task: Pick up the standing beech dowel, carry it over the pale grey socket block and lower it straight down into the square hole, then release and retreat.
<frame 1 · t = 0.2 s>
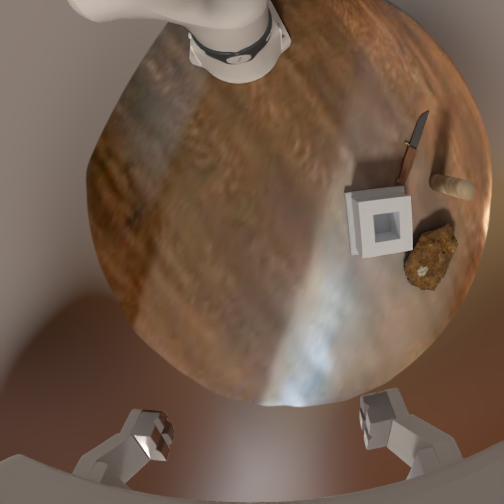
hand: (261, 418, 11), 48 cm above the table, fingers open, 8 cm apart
socket: (376, 219, 55), on the table
knife: (410, 144, 51), on the table
peg: (435, 182, 52), on the table
decorative rock: (428, 252, 57), on the table
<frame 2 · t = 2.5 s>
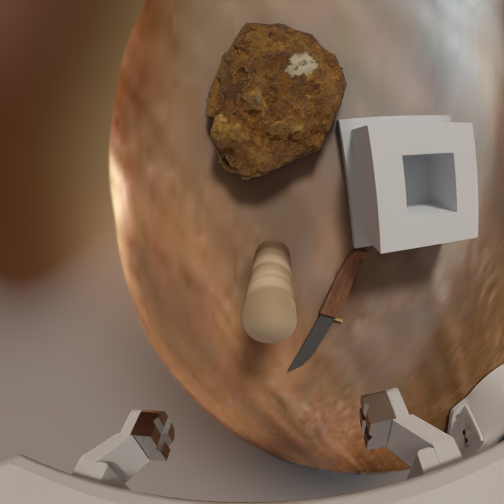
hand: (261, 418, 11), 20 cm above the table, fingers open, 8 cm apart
socket: (403, 177, 26), on the table
knife: (328, 316, 32), on the table
peg: (272, 257, 30), on the table
decorative rock: (272, 104, 26), on the table
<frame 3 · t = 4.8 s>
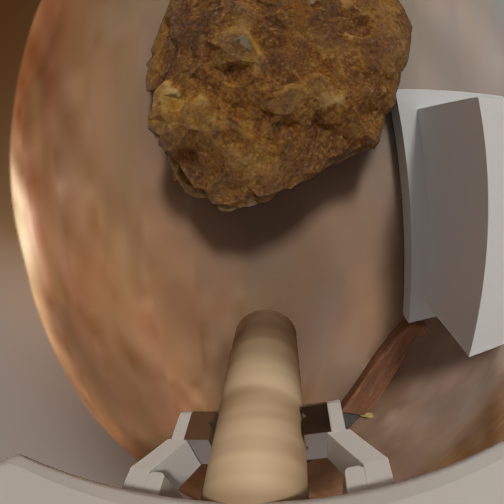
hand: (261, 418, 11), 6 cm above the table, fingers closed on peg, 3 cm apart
socket: (488, 200, 13), on the table
knife: (351, 408, 19), on the table
peg: (265, 336, 17), on the table, touching gripper
decorative rock: (273, 62, 13), on the table
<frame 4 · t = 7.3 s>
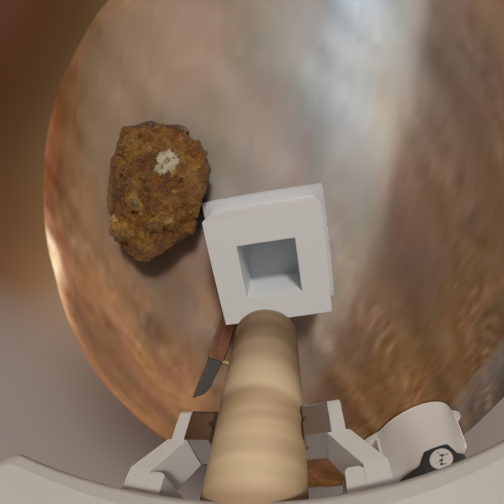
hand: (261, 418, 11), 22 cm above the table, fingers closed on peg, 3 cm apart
socket: (271, 248, 32), on the table
knife: (218, 358, 38), on the table
peg: (266, 335, 17), point 16 cm above the table, touching gripper
decorative rock: (159, 192, 32), on the table
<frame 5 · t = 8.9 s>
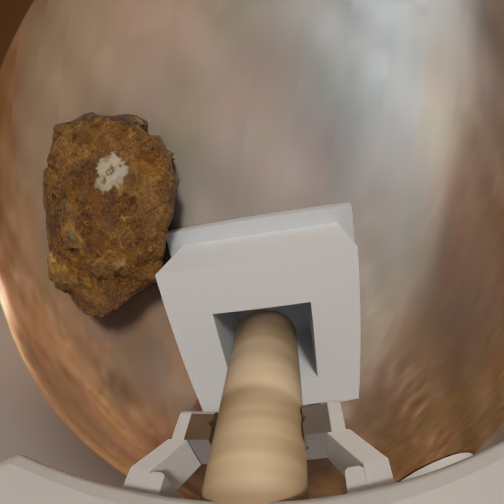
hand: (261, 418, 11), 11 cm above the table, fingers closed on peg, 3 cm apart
socket: (270, 298, 22), on the table
peg: (265, 335, 17), point 5 cm above the table, touching gripper
decorative rock: (112, 216, 21), on the table
when the fingers open (9 cm above the table, at t = 10.0 s): peg drops 1 cm, resting on socket.
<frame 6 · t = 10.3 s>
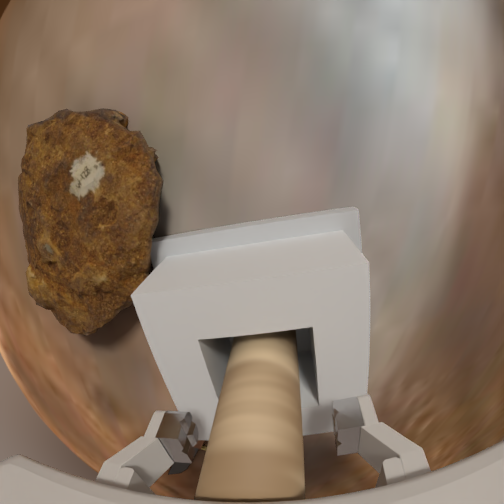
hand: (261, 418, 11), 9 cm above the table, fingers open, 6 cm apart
socket: (266, 314, 19), on the table
knife: (195, 441, 25), on the table
peg: (266, 322, 18), point 1 cm above the table, touching socket
decorative rock: (93, 223, 19), on the table
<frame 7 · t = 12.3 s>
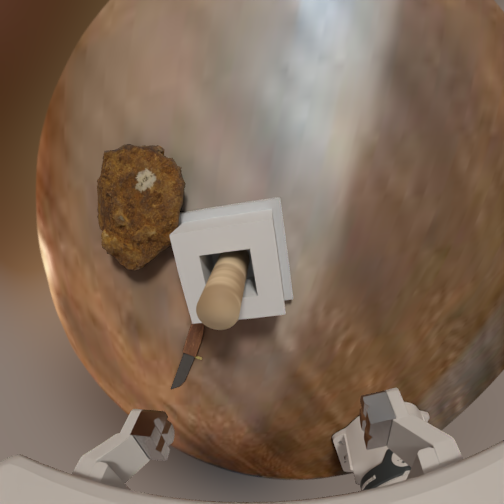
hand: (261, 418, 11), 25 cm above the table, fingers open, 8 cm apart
socket: (235, 255, 36), on the table
knife: (192, 353, 42), on the table
peg: (234, 258, 35), point 1 cm above the table, touching socket
decorative rock: (143, 206, 35), on the table
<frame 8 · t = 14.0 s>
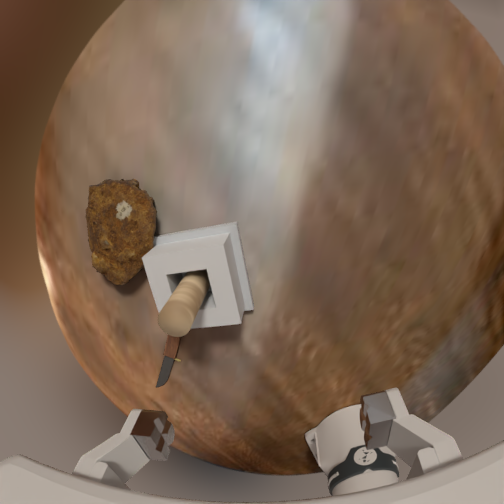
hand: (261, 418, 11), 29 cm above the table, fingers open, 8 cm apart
socket: (202, 272, 41), on the table
knife: (172, 356, 47), on the table
peg: (200, 275, 40), point 1 cm above the table, touching socket
decorative rock: (125, 230, 40), on the table
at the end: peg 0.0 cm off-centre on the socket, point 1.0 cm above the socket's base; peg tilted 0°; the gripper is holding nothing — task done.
